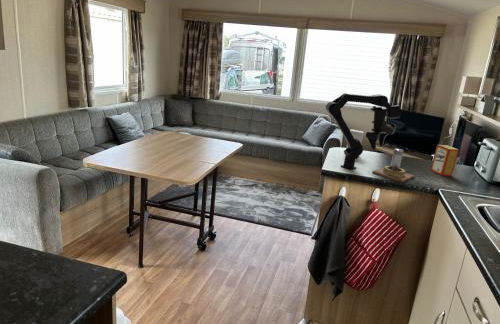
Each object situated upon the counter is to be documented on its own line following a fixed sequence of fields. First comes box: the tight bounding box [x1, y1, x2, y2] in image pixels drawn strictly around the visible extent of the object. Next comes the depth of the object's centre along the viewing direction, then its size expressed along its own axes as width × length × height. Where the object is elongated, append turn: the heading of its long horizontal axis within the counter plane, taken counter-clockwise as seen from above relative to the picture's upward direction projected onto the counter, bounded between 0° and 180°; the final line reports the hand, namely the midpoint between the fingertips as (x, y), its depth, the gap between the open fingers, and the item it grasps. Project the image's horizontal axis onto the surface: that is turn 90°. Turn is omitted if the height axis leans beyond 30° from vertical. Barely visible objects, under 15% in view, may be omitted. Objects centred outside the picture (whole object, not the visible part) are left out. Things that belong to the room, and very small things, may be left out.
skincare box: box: [345, 128, 365, 150], centre depth 226 cm, size 8×7×16 cm
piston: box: [389, 148, 404, 171], centre depth 192 cm, size 5×5×13 cm
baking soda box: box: [430, 144, 460, 177], centre depth 208 cm, size 10×6×16 cm
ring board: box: [371, 165, 415, 183], centre depth 194 cm, size 16×16×4 cm
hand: (377, 147), depth 196 cm, fingers open, 9 cm apart
